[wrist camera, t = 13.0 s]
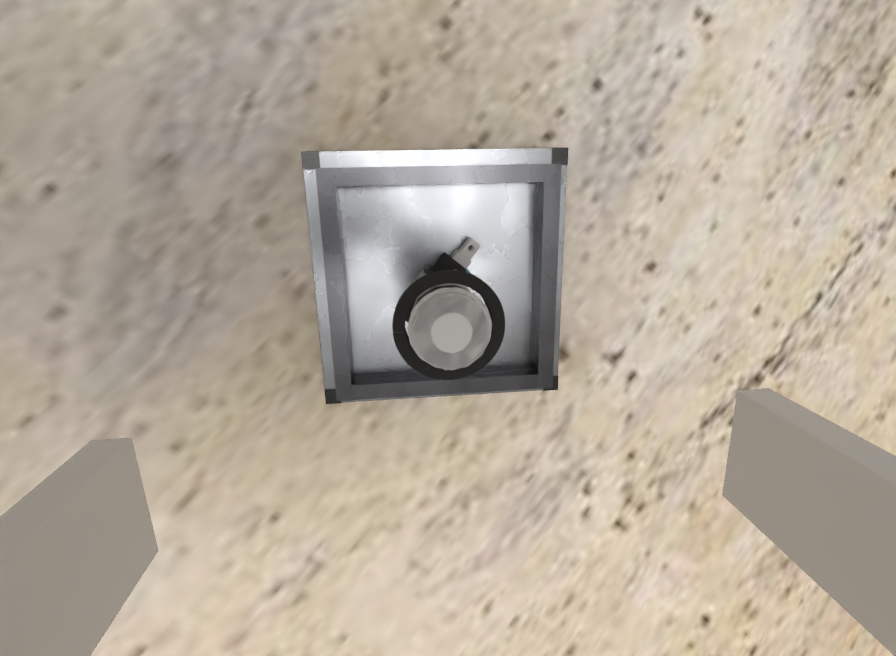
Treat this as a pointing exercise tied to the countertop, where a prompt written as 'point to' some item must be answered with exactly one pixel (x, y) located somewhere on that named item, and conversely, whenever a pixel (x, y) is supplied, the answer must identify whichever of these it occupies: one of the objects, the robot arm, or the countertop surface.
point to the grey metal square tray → (434, 259)
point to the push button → (449, 319)
